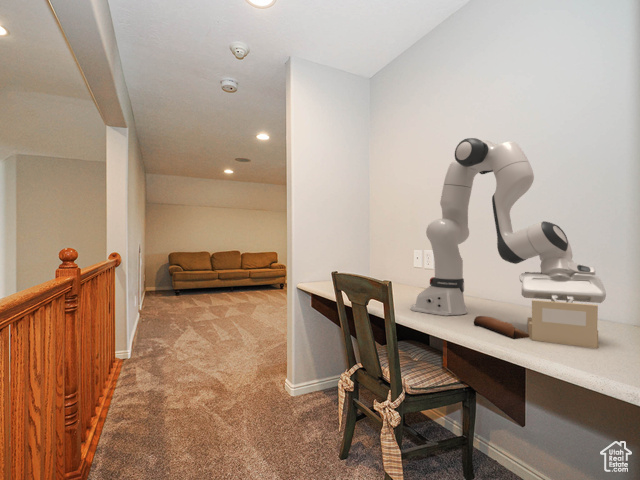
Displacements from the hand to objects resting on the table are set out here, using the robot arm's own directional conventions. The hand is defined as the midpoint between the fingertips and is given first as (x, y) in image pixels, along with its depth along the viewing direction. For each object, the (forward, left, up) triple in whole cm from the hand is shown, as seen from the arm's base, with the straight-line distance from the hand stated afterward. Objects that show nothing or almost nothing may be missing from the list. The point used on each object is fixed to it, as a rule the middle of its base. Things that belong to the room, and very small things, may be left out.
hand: (563, 310), depth 93 cm
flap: (0, 0, -9) cm, 9 cm away
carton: (0, +5, -10) cm, 11 cm away
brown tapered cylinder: (-15, +7, -11) cm, 20 cm away
